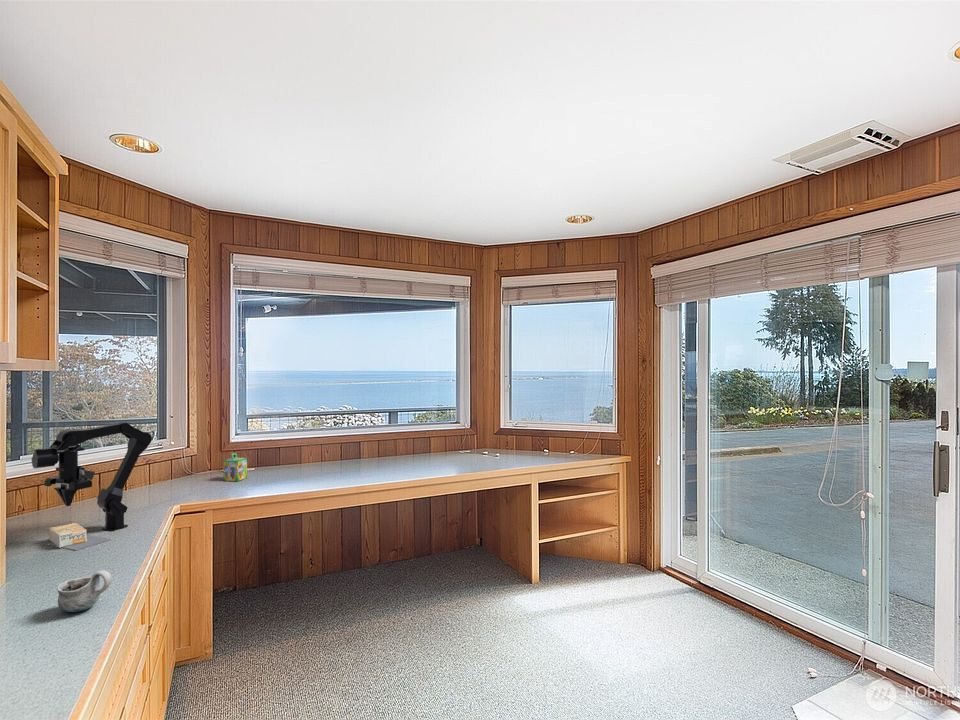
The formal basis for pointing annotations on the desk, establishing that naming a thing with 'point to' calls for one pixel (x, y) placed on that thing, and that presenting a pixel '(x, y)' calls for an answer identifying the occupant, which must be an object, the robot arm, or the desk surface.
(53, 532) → the supplement box
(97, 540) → the mat
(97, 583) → the mug
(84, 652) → the desk surface
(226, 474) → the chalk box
